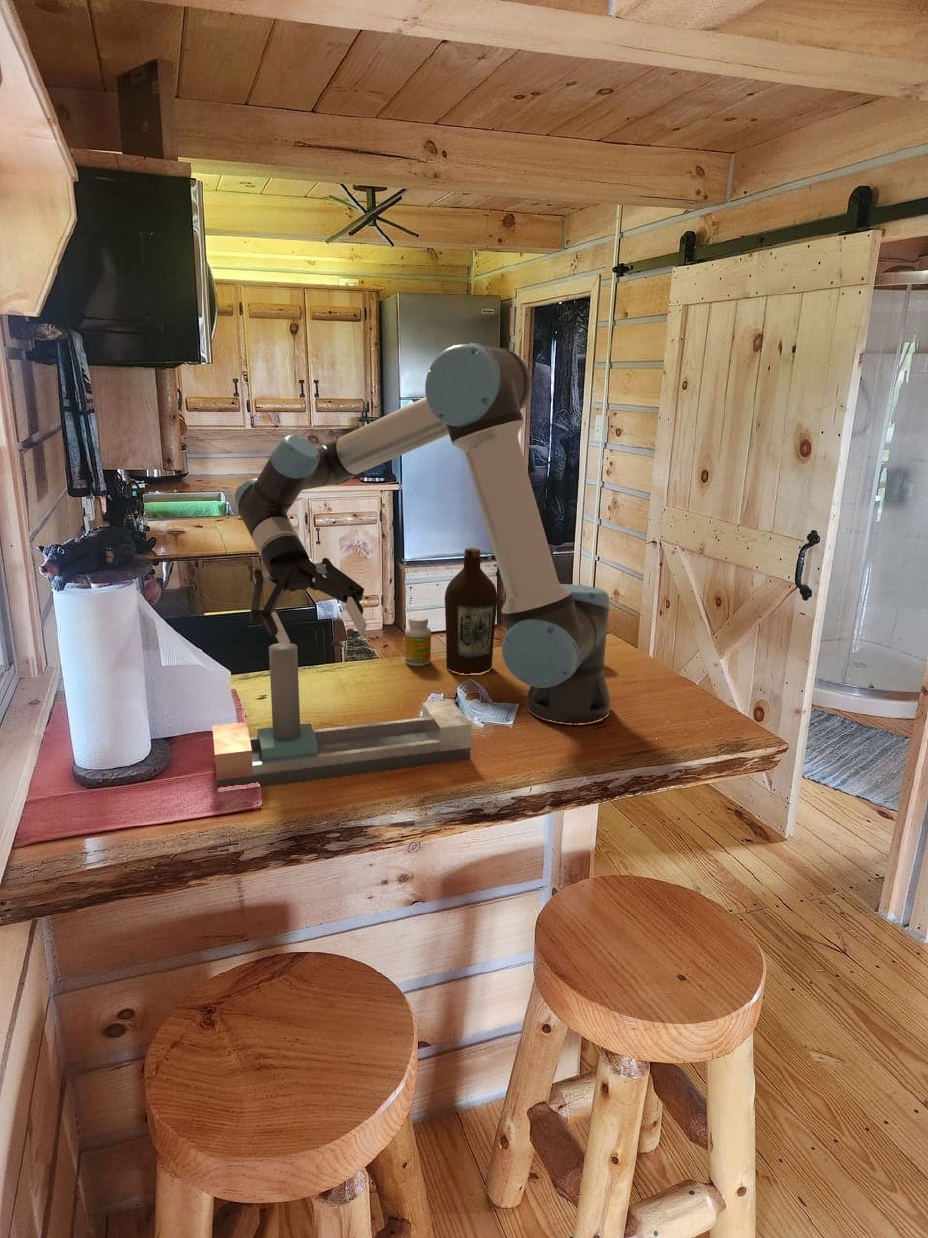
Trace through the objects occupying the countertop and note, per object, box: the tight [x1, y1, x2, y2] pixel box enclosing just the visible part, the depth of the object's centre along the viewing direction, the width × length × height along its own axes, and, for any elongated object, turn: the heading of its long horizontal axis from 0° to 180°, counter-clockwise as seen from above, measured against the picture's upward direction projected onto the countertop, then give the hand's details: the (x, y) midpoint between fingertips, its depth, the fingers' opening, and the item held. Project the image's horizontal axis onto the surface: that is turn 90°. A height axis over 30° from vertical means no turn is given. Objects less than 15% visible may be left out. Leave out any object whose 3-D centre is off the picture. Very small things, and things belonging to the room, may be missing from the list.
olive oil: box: [444, 547, 498, 674], centre depth 159 cm, size 11×11×25 cm
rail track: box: [211, 699, 472, 788], centre depth 122 cm, size 38×10×6 cm, turn 109°
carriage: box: [256, 642, 318, 761], centre depth 117 cm, size 8×7×17 cm
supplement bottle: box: [404, 615, 432, 667], centre depth 164 cm, size 5×5×10 cm
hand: (326, 638), depth 130 cm, fingers open, 13 cm apart
